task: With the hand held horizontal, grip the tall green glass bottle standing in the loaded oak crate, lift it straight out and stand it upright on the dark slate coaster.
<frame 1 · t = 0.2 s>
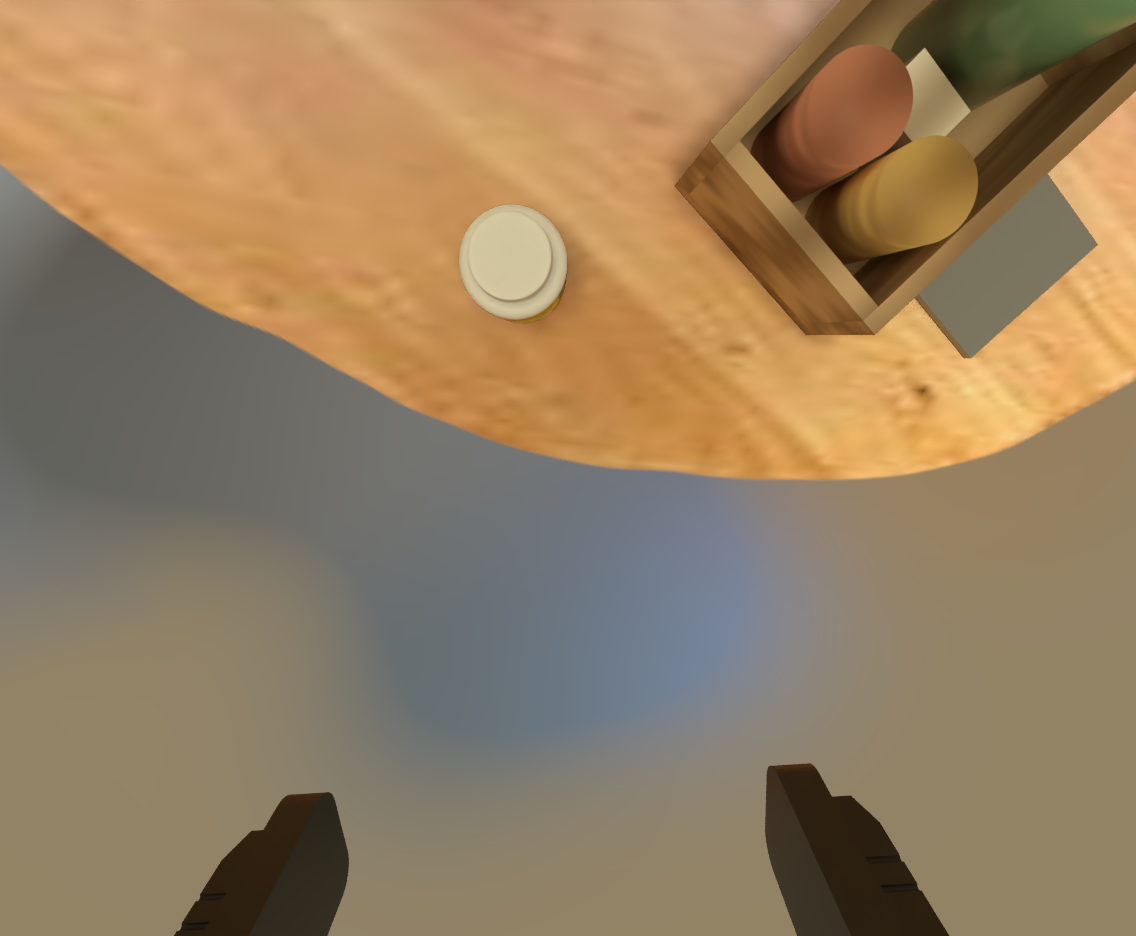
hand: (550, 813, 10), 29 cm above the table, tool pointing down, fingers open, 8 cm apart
supplement bottle: (522, 279, 35), on the table
green bottle: (939, 66, 31), point 1 cm above the table, touching crate
crate: (863, 140, 33), on the table
coaster: (982, 247, 35), on the table
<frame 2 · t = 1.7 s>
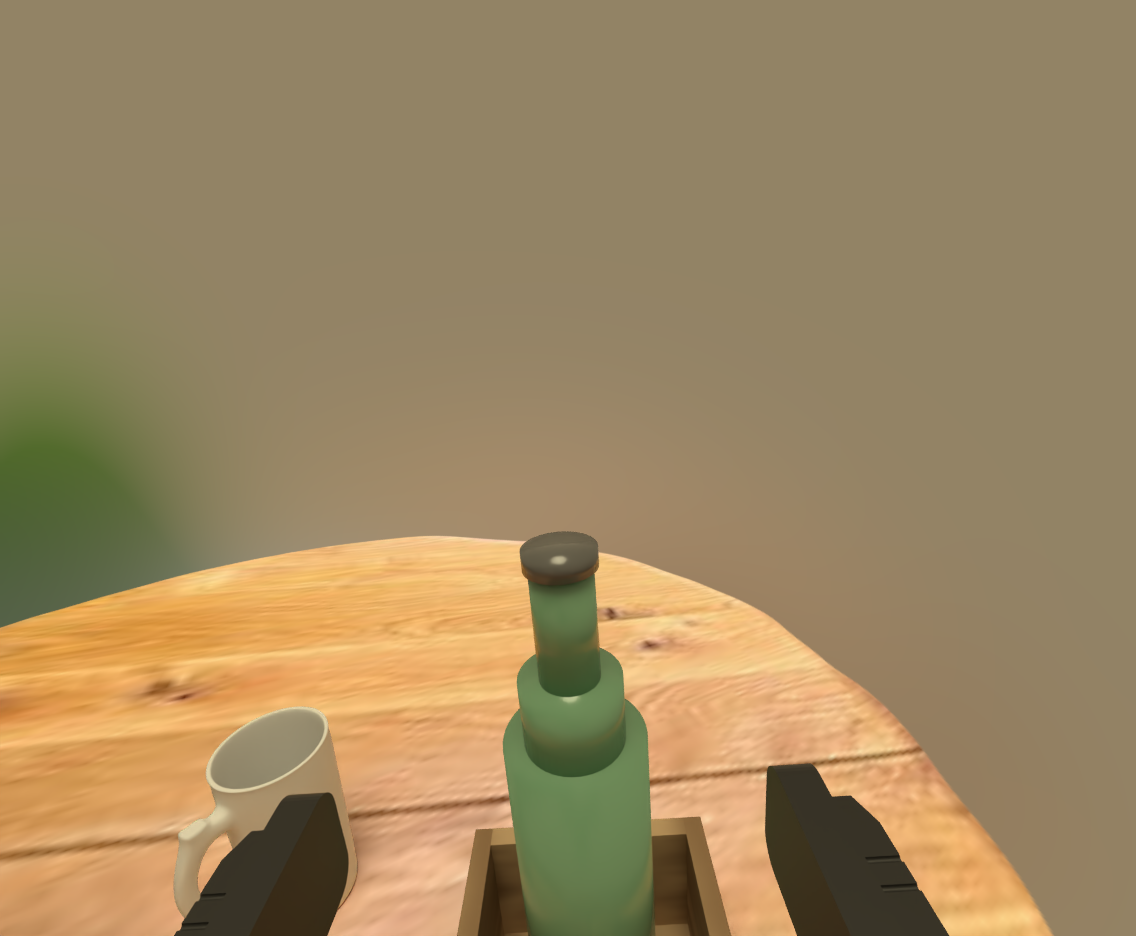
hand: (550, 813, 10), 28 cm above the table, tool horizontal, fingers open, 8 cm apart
mug: (289, 912, 35), on the table
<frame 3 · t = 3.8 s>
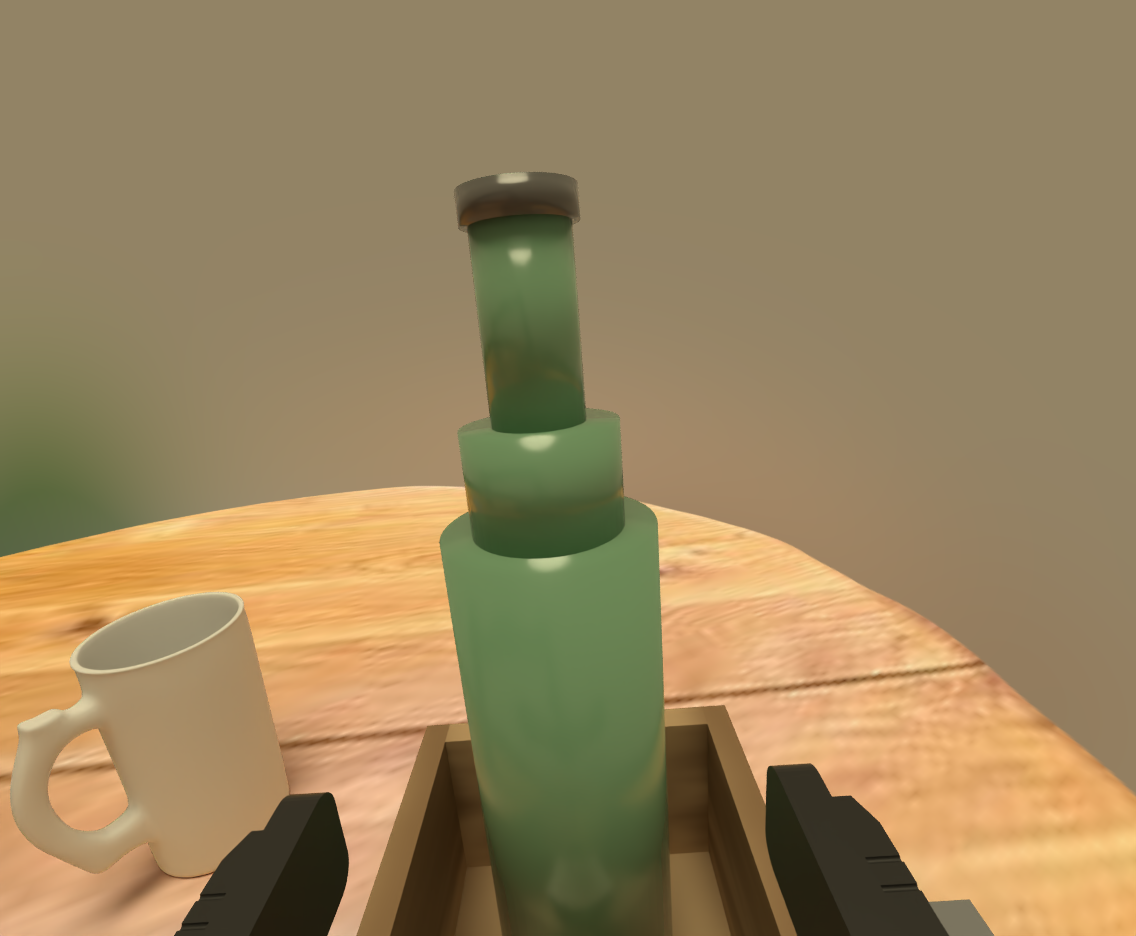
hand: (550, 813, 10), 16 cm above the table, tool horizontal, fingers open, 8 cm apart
mug: (197, 851, 28), on the table
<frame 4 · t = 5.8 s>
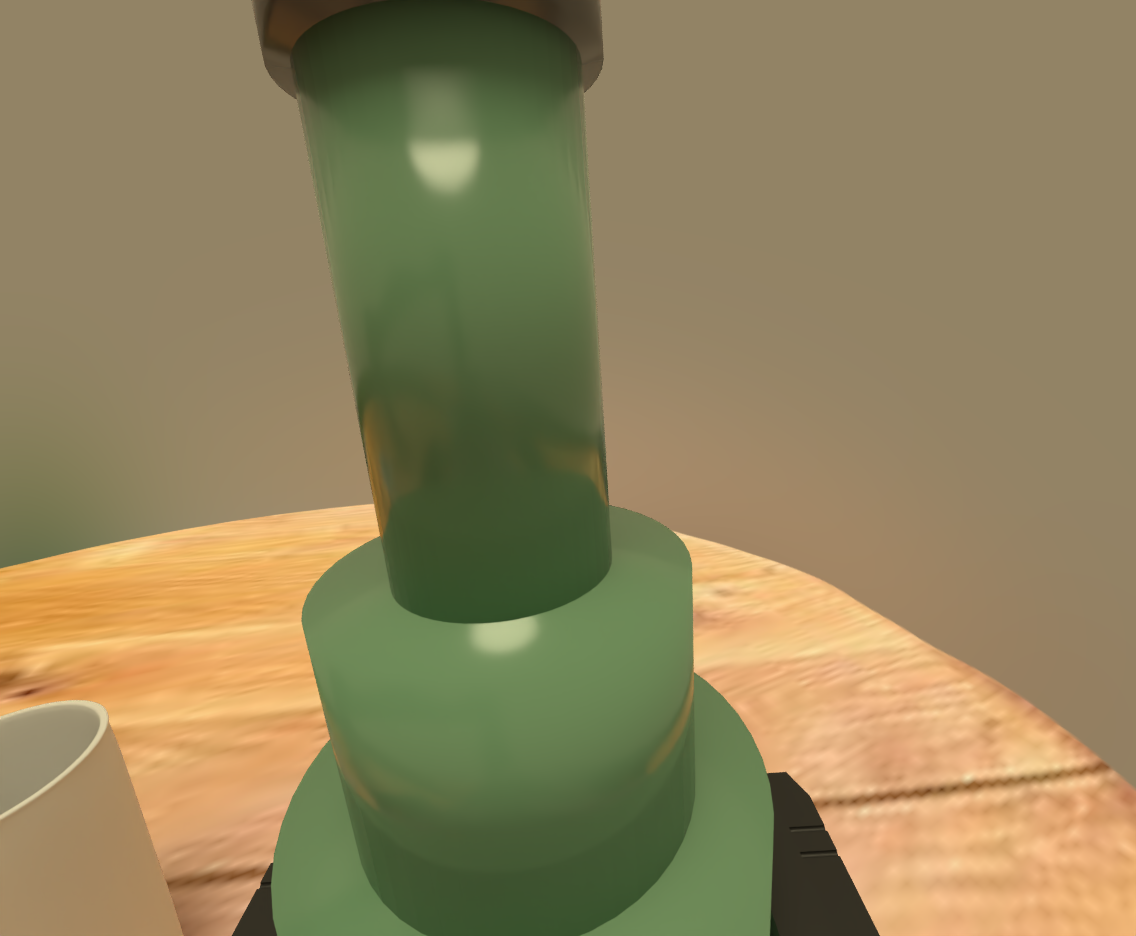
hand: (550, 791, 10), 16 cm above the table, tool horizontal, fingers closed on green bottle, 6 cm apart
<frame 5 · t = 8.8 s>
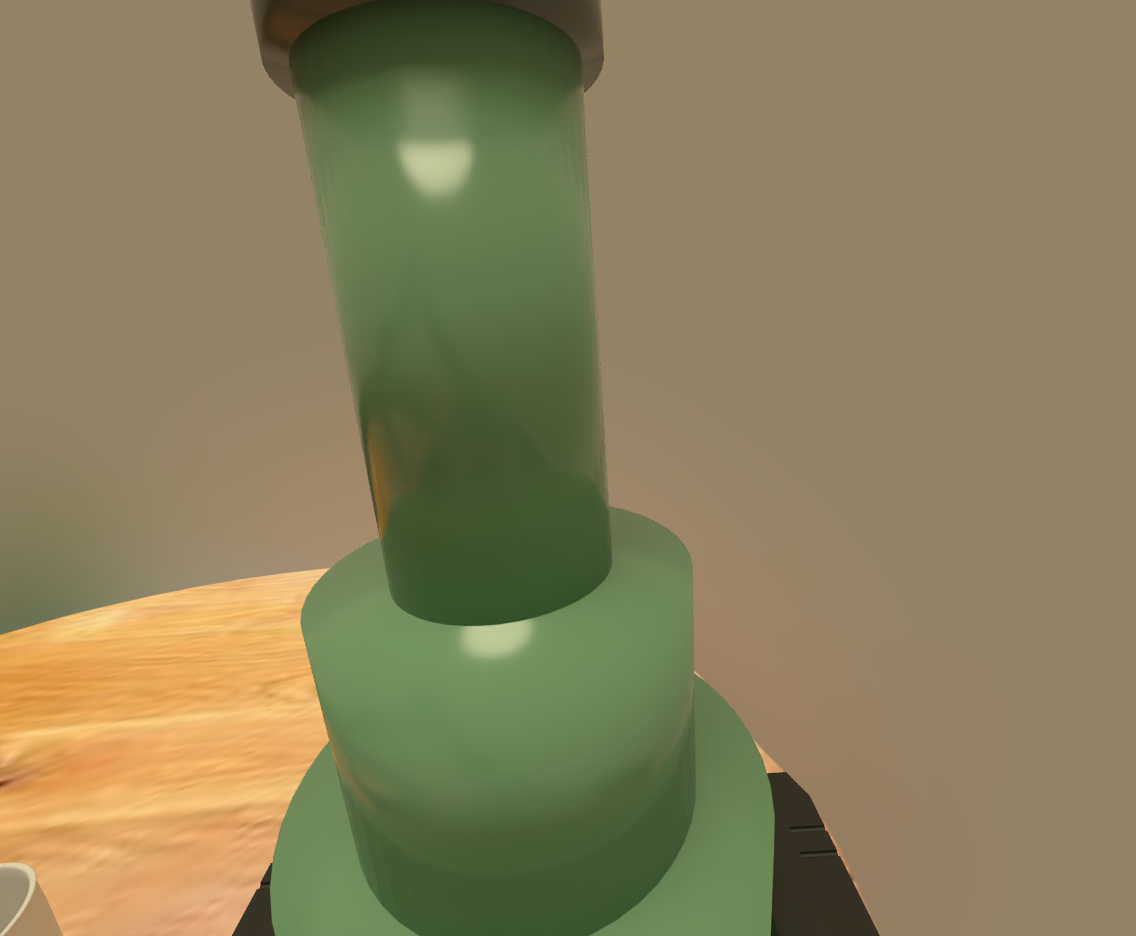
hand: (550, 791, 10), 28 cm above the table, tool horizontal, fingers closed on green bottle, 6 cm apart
when the fingers open (16 cm above the table, at t = 11.9 s): green bottle stays where it is, resting on coaster.
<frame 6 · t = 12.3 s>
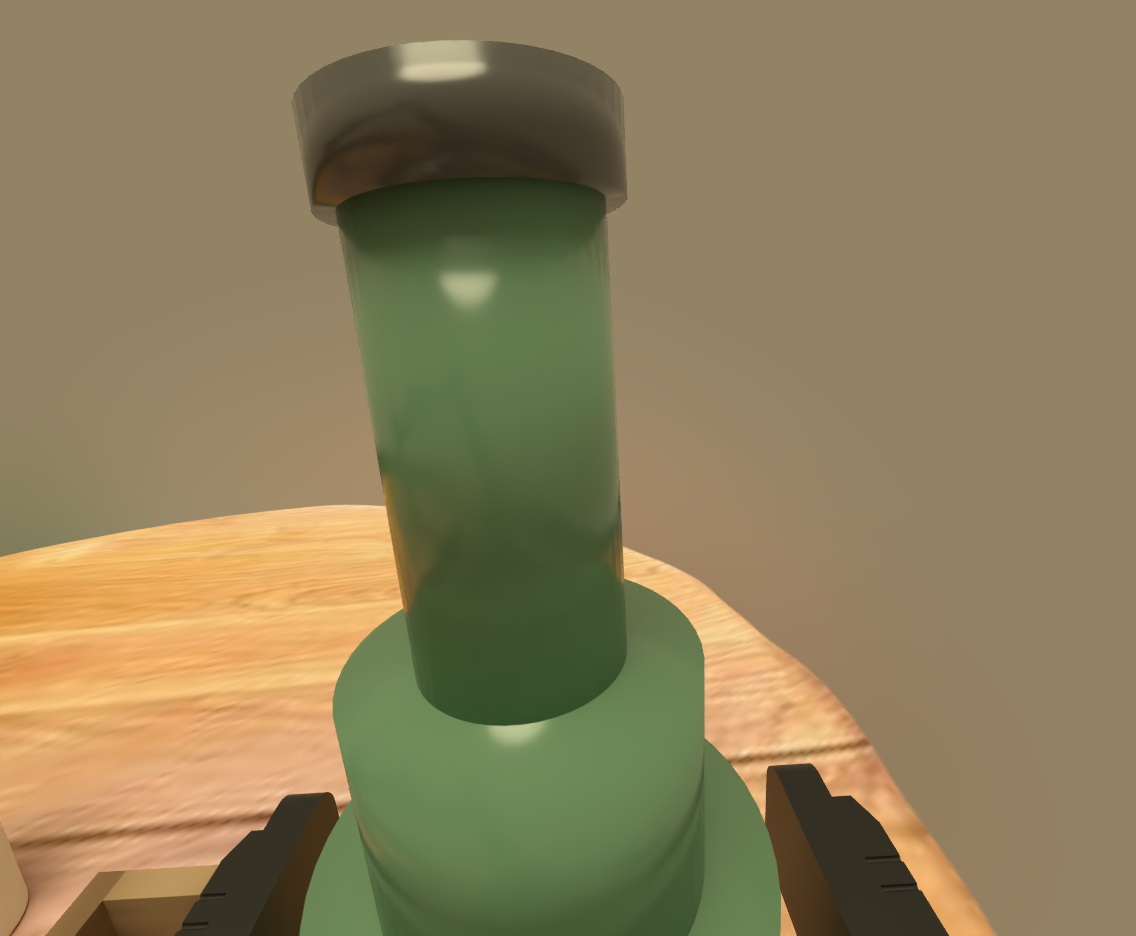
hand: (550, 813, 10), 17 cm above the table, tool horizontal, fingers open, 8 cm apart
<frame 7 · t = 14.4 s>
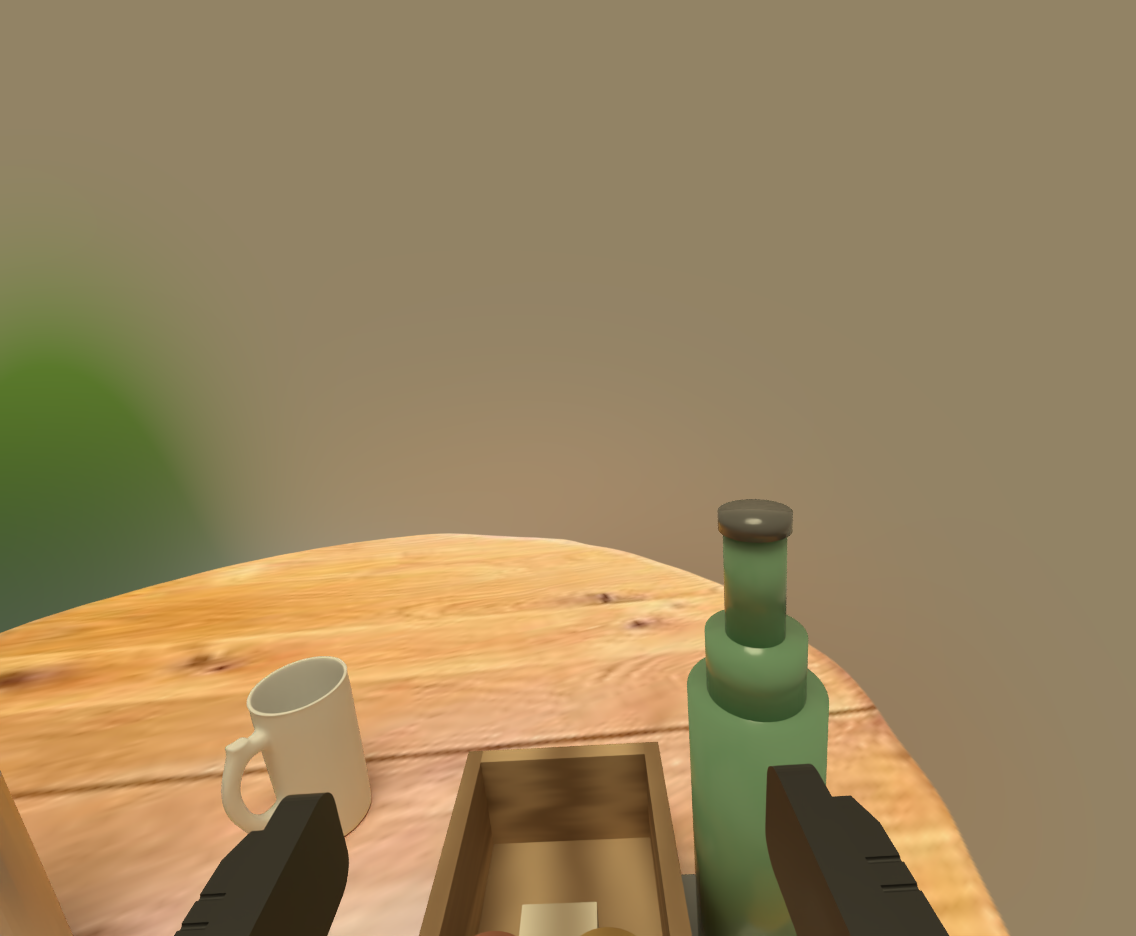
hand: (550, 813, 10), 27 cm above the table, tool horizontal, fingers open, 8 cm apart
mug: (314, 831, 41), on the table
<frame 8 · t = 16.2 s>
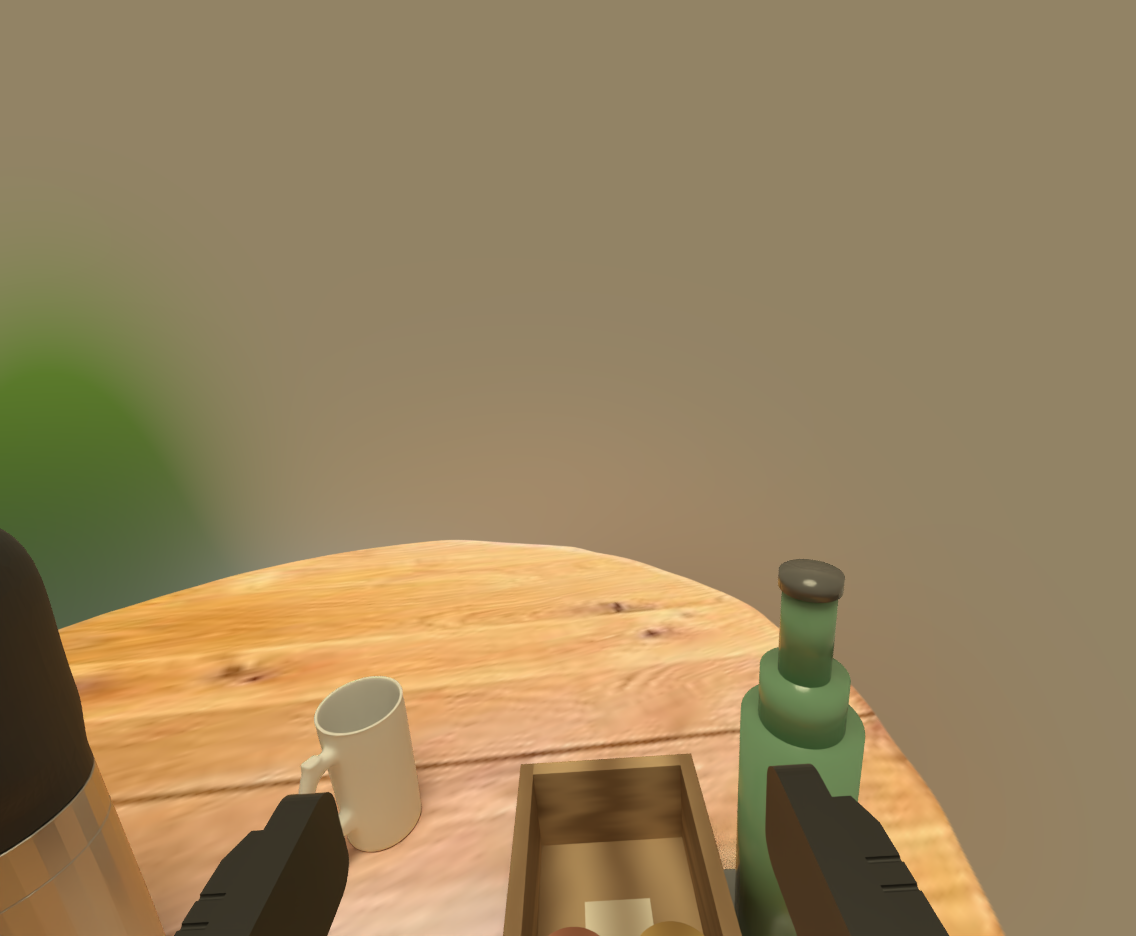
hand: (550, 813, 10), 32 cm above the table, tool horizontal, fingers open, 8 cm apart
mug: (371, 836, 45), on the table
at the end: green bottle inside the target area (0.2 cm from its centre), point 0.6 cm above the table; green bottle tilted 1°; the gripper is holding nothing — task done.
